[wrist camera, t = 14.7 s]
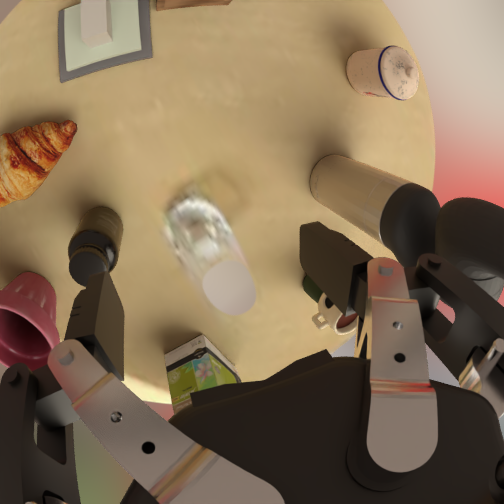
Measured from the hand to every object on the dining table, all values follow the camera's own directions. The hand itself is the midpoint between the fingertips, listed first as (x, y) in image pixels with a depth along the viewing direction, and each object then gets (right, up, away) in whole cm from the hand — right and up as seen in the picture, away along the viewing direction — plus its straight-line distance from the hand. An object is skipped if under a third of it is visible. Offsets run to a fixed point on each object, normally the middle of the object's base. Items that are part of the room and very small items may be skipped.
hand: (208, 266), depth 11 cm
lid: (-18, +30, +12) cm, 37 cm away
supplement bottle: (-20, +4, +26) cm, 34 cm away
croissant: (-31, +14, +17) cm, 38 cm away
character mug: (+14, -5, +45) cm, 47 cm away
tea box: (-9, -23, +46) cm, 52 cm away
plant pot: (-36, -7, +26) cm, 45 cm away
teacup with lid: (+22, +32, +27) cm, 48 cm away
